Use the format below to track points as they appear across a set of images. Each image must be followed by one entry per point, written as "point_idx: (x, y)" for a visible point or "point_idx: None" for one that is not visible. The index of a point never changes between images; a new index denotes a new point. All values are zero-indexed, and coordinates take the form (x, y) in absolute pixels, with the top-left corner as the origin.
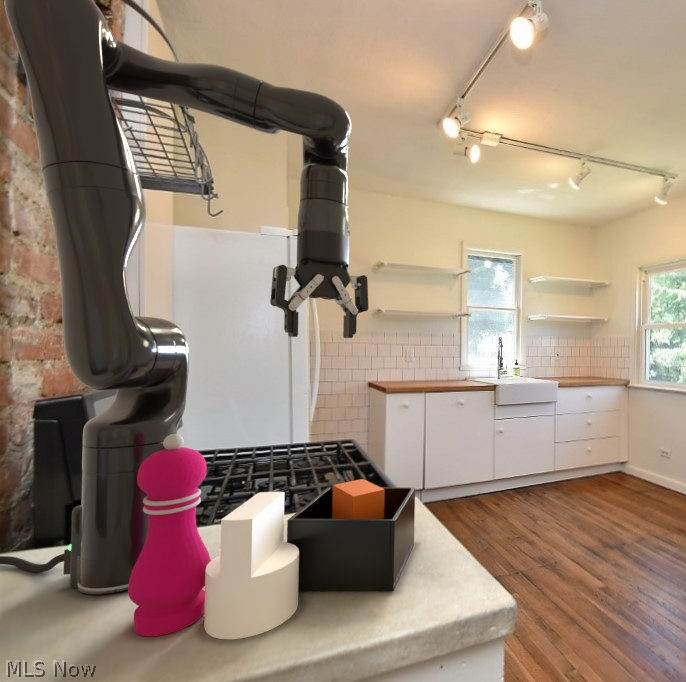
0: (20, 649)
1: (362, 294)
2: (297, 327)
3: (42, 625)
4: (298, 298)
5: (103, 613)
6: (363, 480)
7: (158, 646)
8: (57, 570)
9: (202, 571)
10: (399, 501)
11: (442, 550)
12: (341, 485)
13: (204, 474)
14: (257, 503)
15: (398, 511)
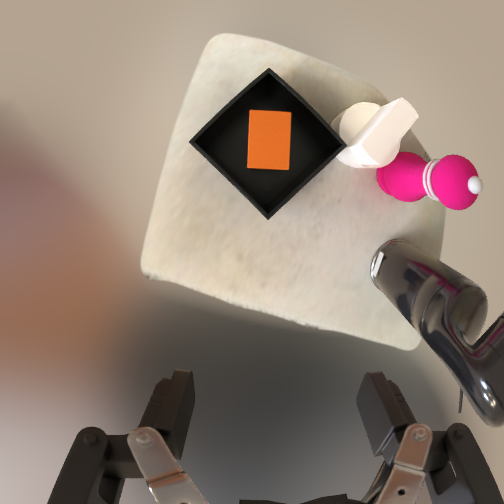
0: (442, 207)
1: (82, 490)
2: (378, 387)
3: (434, 228)
4: (413, 464)
5: (415, 217)
6: (250, 159)
7: (402, 149)
8: None
9: (397, 155)
10: (207, 152)
11: (190, 119)
12: (281, 160)
13: (438, 164)
14: (389, 131)
15: (251, 84)
